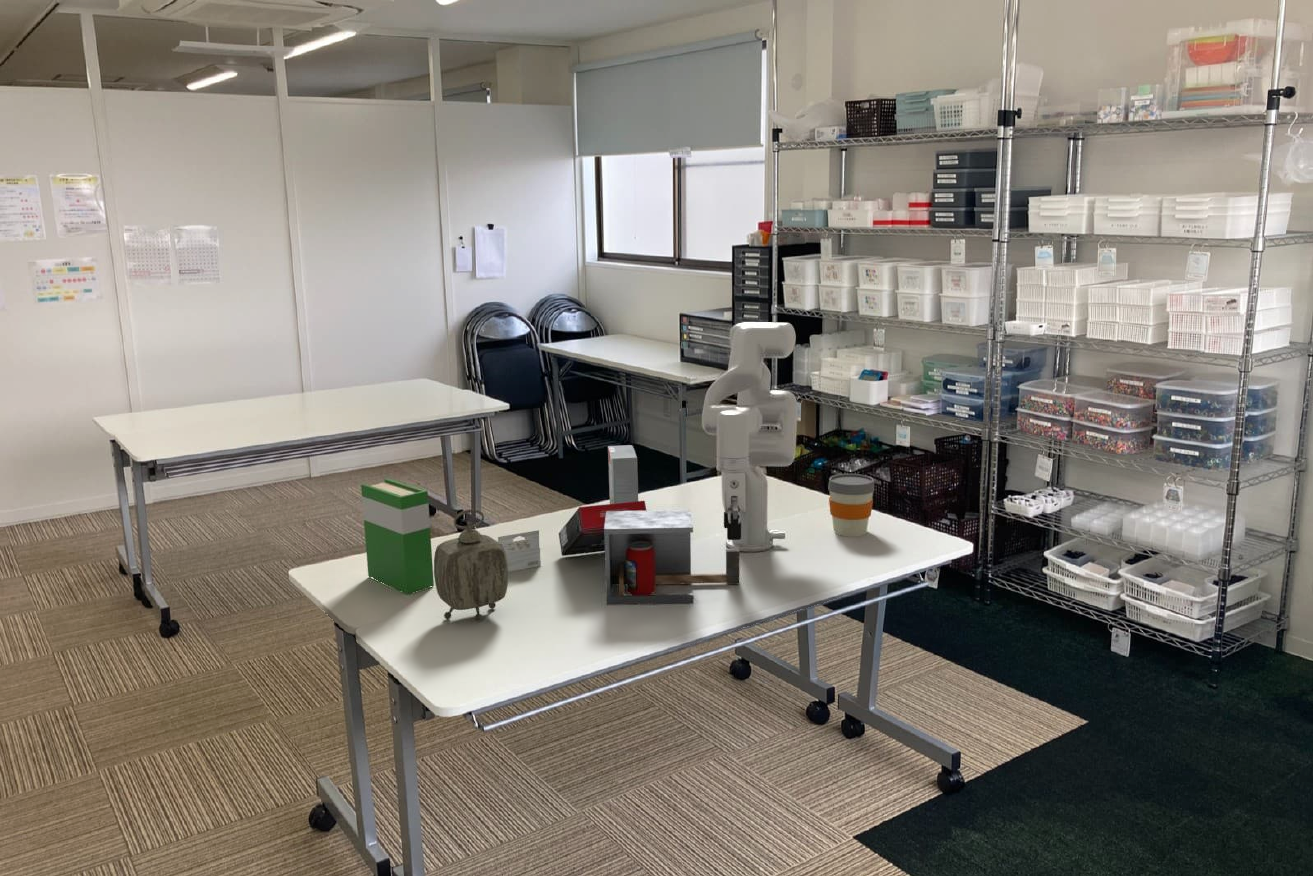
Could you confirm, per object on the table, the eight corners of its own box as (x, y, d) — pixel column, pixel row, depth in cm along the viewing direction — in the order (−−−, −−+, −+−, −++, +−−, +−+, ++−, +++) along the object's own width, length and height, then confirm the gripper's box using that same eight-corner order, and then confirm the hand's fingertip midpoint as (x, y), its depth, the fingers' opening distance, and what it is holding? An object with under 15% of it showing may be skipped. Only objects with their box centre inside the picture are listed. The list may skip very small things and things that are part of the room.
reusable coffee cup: (838, 540, 280) (839, 486, 277) (820, 526, 292) (821, 475, 289) (880, 536, 283) (882, 483, 280) (861, 523, 295) (862, 472, 292)
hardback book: (368, 577, 258) (360, 484, 252) (394, 569, 263) (387, 478, 258) (407, 595, 246) (400, 497, 240) (433, 586, 251) (427, 491, 245)
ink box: (496, 571, 261) (494, 534, 259) (537, 563, 266) (536, 527, 264) (499, 574, 259) (497, 537, 257) (541, 566, 264) (539, 530, 262)
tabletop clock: (496, 604, 238) (491, 500, 233) (513, 617, 231) (508, 509, 226) (436, 618, 231) (429, 511, 225) (452, 632, 223) (445, 521, 218)
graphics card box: (619, 526, 278) (645, 496, 253) (624, 551, 276) (650, 524, 251) (557, 533, 272) (577, 504, 248) (561, 559, 270) (581, 532, 246)
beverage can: (626, 589, 247) (624, 541, 244) (654, 587, 248) (653, 539, 245) (627, 599, 240) (626, 550, 238) (656, 598, 241) (655, 548, 238)
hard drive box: (609, 510, 312) (607, 445, 307) (634, 509, 312) (633, 444, 308) (613, 525, 297) (611, 457, 292) (639, 524, 297) (638, 456, 293)
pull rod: (738, 580, 250) (738, 548, 248) (742, 597, 239) (742, 564, 238) (620, 582, 250) (619, 550, 248) (619, 599, 239) (618, 566, 237)
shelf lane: (690, 581, 251) (690, 509, 247) (693, 603, 237) (692, 527, 233) (608, 583, 251) (606, 511, 247) (606, 605, 237) (604, 529, 233)
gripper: (752, 471, 234) (751, 544, 237) (745, 455, 251) (744, 523, 254) (719, 471, 234) (719, 544, 237) (714, 455, 251) (713, 524, 254)
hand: (732, 533), depth 246 cm, fingers open, 9 cm apart
